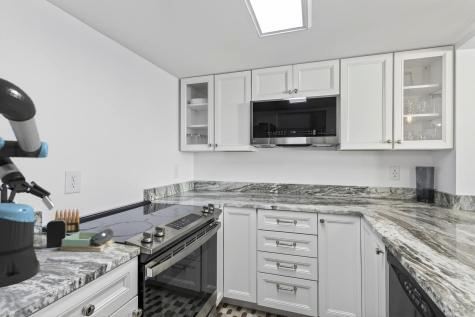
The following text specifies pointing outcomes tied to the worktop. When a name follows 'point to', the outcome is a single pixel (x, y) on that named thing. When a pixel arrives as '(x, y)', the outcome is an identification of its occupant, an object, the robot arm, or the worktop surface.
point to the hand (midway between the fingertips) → (37, 211)
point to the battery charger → (55, 233)
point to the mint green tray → (88, 241)
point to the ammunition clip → (69, 220)
